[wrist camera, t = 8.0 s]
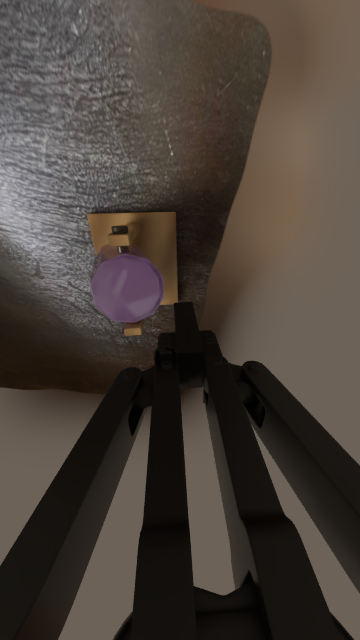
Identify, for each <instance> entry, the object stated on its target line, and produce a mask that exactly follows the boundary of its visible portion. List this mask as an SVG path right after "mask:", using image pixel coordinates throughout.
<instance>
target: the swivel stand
mask: <svg viewBox="0 0 360 640" xmlns="http://www.w3.org/2000/svg"><path fill="white" fill-rule="evenodd" d="M87 215H88V220H89V225H90V229H91V234H92V239H93V243H94V248H95V253H96V256H97V254H98V252H99V250H100V248H101V247H102V246H104V245H107V244H109V246H129V245H130V244H131V243H134V244H137V245H138V246H139V247H140V248H141V249H142V251H143V252H144V253H145V254H146V255H147V256H148V258H149V259H150V260H151V261H152V263H153V264H154V265H155V266H156V268H157V269H158V270H159V271H160V272H161V274H162V275H163V278H164V295H165V296H164V298H163V300H162V302H161V303H160V305H162V304H174V303H178V281H177V241H176V212H138V213H95V214H87ZM143 323H144V319H142V320H140V321H137V322H136V323H130V322H126V324H125V327H124V333H125V336H128V335H131V336H138V335H141V334H142V329H143Z"/></svg>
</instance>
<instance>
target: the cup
mask: <svg viewBox="0 0 360 640" xmlns="http://www.w3.org/2000/svg"><path fill="white" fill-rule="evenodd" d="M90 287H91V291H92V295H93V299H94V303H95V306H96V308H98V309H99V310H100V311H101V312H103V313H104V314H105V315H106V316H108V317H109V318H110V319H111V320H113V321H122V322H130V323H136V322H137V321H140V320H142V319H144V318H146V317H148V316H150V315H152V314H154V313H155V311H156V309H157V308H158V306H159V305H160V303H161V302H162V300H163V298H164V296H165V295H164V278H163V275H162V274H161V272H160V271H159V270H158V269H157V268H156V266H155V265H154V264H153V263H152V261H151V260H150V259H149V258H148V256H147V255H146V254H145V253H144V252H143V251H142V249H141V248H140V247H139V246H138V245H137V244H134V243H131V244H130V245H129V246H109V244H107V245H104V246H102V247H101V248H100V250H99V252H98V254H97V256H96V258H95V260H94V262H93V269H92V276H91V282H90Z"/></svg>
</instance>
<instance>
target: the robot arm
mask: <svg viewBox="0 0 360 640" xmlns="http://www.w3.org/2000/svg"><path fill="white" fill-rule="evenodd" d="M174 317H175V332H171V333H161V334H160V336H159V337H158V348H157V349H156V350H155V352H154V360H155V365H154V366H153V367H151V368H150V369H147V370H144V371H141V370H140V369H139V368H136V367H129V368H126V369H124V370H122V371H121V372H120V373H119V374H118V376H117V377H116V379H115V380H114V382H113V384H112V385H111V387H110V389H109V390H108V392H107V393H106V395H105V397H104V398H103V400H102V402H101V403H100V405H99V407H98V408H97V410H96V412H95V413H94V415H93V416H92V418H91V419H90V421H89V423H88V424H87V426H86V428H85V429H84V431H83V432H82V434H81V436H80V437H79V439H78V441H77V442H76V444H75V445H74V447H73V449H72V450H71V452H70V454H69V455H68V457H67V458H66V460H65V462H64V463H63V465H62V467H61V468H60V470H59V471H58V473H57V475H56V476H55V478H54V480H53V481H52V483H51V484H50V486H49V488H48V489H47V491H46V493H45V494H44V496H43V497H42V499H41V501H40V502H39V504H38V506H37V507H36V509H35V510H34V512H33V514H32V516H31V517H30V519H29V520H28V522H27V523H26V525H25V527H24V528H23V530H22V532H21V533H20V535H19V536H18V538H17V540H16V541H15V543H14V545H13V546H12V548H11V549H10V551H9V553H8V554H7V556H6V558H5V559H4V561H3V562H2V564H1V566H0V640H58V638H59V636H60V634H61V632H62V629H63V627H64V624H65V622H66V620H67V617H68V615H69V612H70V610H71V608H72V605H73V603H74V600H75V597H76V595H77V592H78V589H79V587H80V584H81V582H82V579H83V576H84V573H85V571H86V568H87V566H88V563H89V560H90V558H91V555H92V552H93V550H94V547H95V544H96V542H97V539H98V537H99V534H100V531H101V529H102V526H103V523H104V521H105V518H106V515H107V513H108V510H109V507H110V505H111V502H112V499H113V497H114V494H115V491H116V489H117V486H118V483H119V481H120V478H121V476H122V473H123V470H124V468H125V465H126V462H127V460H128V457H129V454H130V452H131V449H132V447H133V444H134V441H135V439H136V436H137V433H138V431H139V428H140V425H141V423H142V420H143V417H144V415H145V412H146V409H147V407H149V406H152V411H151V425H150V438H149V451H148V464H147V478H146V491H145V505H144V518H143V525H142V530H141V532H140V538H139V545H138V556H137V567H136V580H135V592H134V603H133V611H132V612H131V614H130V615H129V616H128V617H127V619H126V620H125V621H124V623H123V624H122V626H121V627H120V629H119V630H118V632H117V634H116V635H115V637H114V639H113V640H354V639H353V638H352V636H351V635H349V633H348V632H347V631H346V629H345V628H344V627H343V626H342V625H341V623H340V622H339V621H338V620H337V619H336V618H335V617H334V616H333V615H332V613H331V612H330V611H329V609H328V606H327V604H326V601H325V599H324V596H323V593H322V591H321V588H320V586H319V583H318V581H317V578H316V575H315V573H314V571H313V568H312V565H311V563H310V560H309V558H308V555H307V553H306V550H305V548H304V545H303V542H302V540H301V537H300V535H299V533H298V531H297V529H296V527H295V525H294V524H293V522H292V521H291V520H290V519H289V518H288V517H286V515H285V514H284V512H283V510H282V508H281V505H280V502H279V499H278V497H277V494H276V491H275V488H274V486H273V483H272V480H271V478H270V475H269V472H268V469H267V467H266V464H265V461H264V459H263V456H262V454H261V450H260V448H259V445H258V442H257V439H256V437H255V434H254V431H253V429H252V426H253V428H254V429H255V431H256V433H257V434H258V436H259V437H260V439H261V440H262V442H263V443H264V445H265V447H266V448H267V449H268V451H269V453H270V454H271V456H272V458H273V459H274V461H275V462H276V464H277V465H278V467H279V468H280V470H281V472H282V473H283V475H284V476H285V478H286V479H287V481H288V483H289V484H290V486H291V487H292V489H293V491H294V492H295V494H296V495H297V497H298V498H299V500H300V501H301V503H302V505H303V506H304V508H305V509H306V511H307V512H308V514H309V515H310V517H311V519H312V520H313V522H314V523H315V525H316V527H317V528H318V530H319V531H320V533H321V534H322V536H323V537H324V539H325V541H326V542H327V544H328V545H329V547H330V548H331V550H332V552H333V553H334V555H335V556H336V558H337V559H338V561H339V563H340V564H341V566H342V567H343V569H344V570H345V572H346V574H347V575H348V576H349V578H350V580H351V581H352V583H353V584H354V586H355V587H356V589H357V590H358V592H359V593H360V465H359V464H358V463H357V462H356V461H355V460H354V459H353V458H352V457H351V456H350V455H349V454H348V453H347V452H346V451H345V450H344V449H343V448H342V447H341V445H339V443H338V442H337V441H336V440H335V439H334V438H333V437H332V436H331V435H330V434H329V433H328V432H327V431H326V430H325V429H324V428H323V427H322V426H321V424H320V423H319V422H318V421H317V420H316V419H315V418H314V417H313V416H312V415H311V414H310V413H309V412H308V411H307V410H306V409H305V408H304V407H303V405H302V404H301V403H300V402H299V401H298V400H297V399H296V398H295V397H294V396H293V395H292V394H291V393H290V392H289V391H288V390H287V389H286V388H285V387H284V385H283V384H282V383H281V382H280V381H279V380H278V379H277V378H276V377H275V376H274V375H273V374H272V373H271V372H270V371H269V370H268V369H267V368H266V367H265V366H264V365H263V364H262V363H259V362H256V361H247V362H245V363H244V364H243V366H238V365H234V364H231V363H229V362H228V361H227V360H226V358H224V357H223V356H222V353H221V350H220V347H219V344H218V342H217V339H216V336H215V334H214V333H213V332H212V331H211V330H208V331H207V330H206V331H199V329H198V325H197V321H196V316H195V312H194V308H193V304H192V302H180V303H174ZM202 383H203V387H204V393H203V403H205V406H206V412H207V418H208V423H209V429H210V435H211V440H212V446H213V451H214V457H215V463H216V468H217V474H218V480H219V485H220V491H221V496H222V501H223V508H224V513H225V518H226V524H227V530H228V536H229V540H230V549H231V563H232V570H233V578H234V583H235V591H233V592H231V593H229V594H228V595H223V596H222V595H219V594H216V593H213V592H209V591H207V590H204V589H200V588H198V587H195V586H193V572H192V557H191V543H190V530H189V520H188V506H187V490H186V475H185V460H184V444H183V431H182V430H183V429H182V414H181V399H180V388H195V387H202ZM251 425H252V426H251Z"/></svg>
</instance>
